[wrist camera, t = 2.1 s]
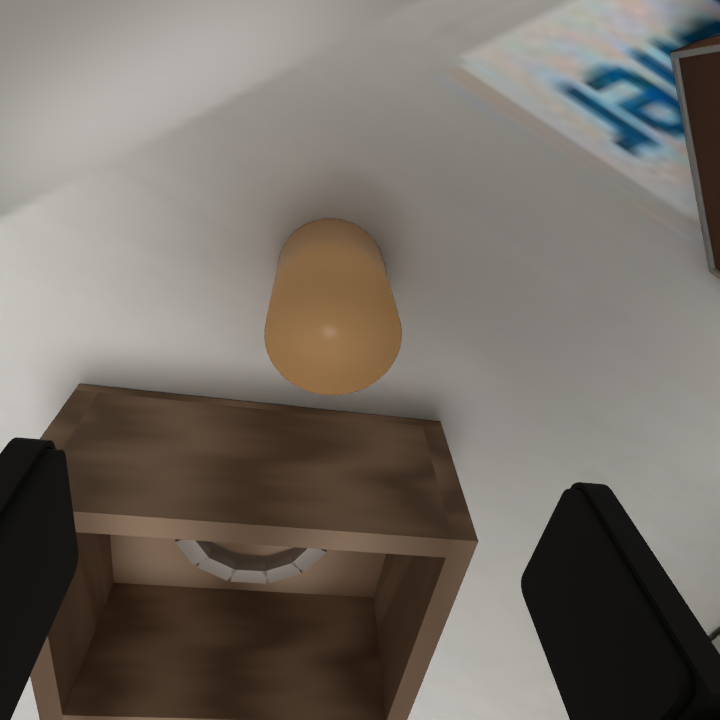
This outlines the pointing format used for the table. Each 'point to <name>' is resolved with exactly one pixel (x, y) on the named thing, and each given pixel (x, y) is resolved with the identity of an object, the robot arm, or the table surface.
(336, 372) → the peg
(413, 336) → the table surface
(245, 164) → the table surface
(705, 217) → the food container
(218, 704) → the housing
